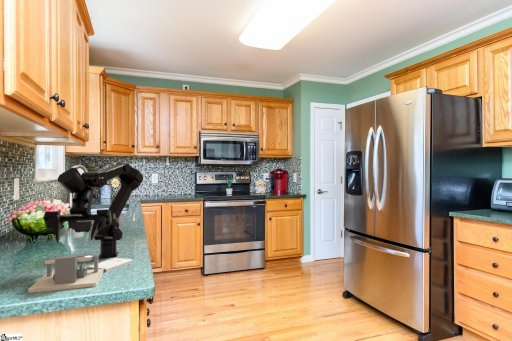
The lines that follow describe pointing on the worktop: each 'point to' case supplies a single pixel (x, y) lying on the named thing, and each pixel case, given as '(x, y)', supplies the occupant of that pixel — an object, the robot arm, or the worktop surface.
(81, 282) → the board
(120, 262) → the external hard drive
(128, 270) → the worktop surface
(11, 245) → the worktop surface
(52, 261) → the brushed grey panel
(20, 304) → the worktop surface
